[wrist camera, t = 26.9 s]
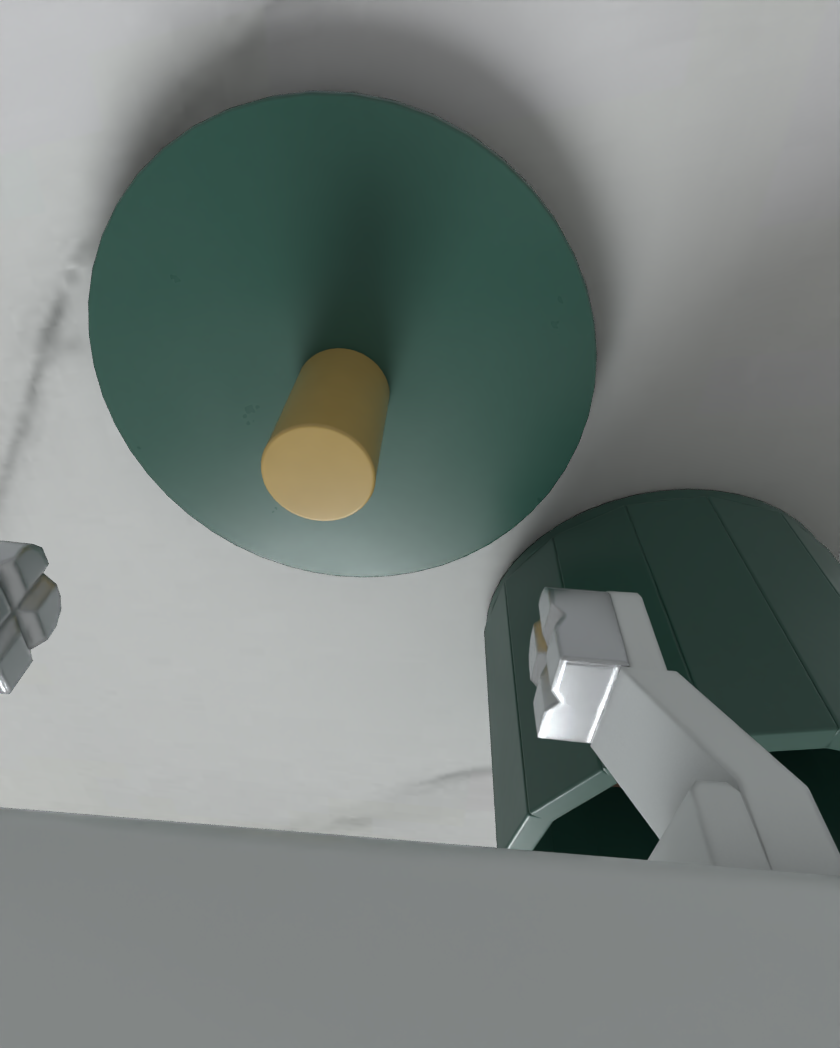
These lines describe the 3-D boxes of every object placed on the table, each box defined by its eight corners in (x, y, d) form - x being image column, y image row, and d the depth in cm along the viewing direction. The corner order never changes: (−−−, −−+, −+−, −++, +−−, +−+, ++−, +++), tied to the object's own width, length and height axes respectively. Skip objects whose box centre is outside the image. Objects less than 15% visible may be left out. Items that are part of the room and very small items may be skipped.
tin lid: (121, 510, 20) (38, 628, 16) (87, 11, 13) (-85, -4, 9) (504, 585, 22) (516, 712, 18) (676, 175, 14) (770, 228, 10)
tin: (450, 699, 26) (450, 935, 19) (551, 452, 19) (609, 686, 12) (721, 746, 27) (814, 984, 20) (912, 532, 20) (1152, 785, 13)
